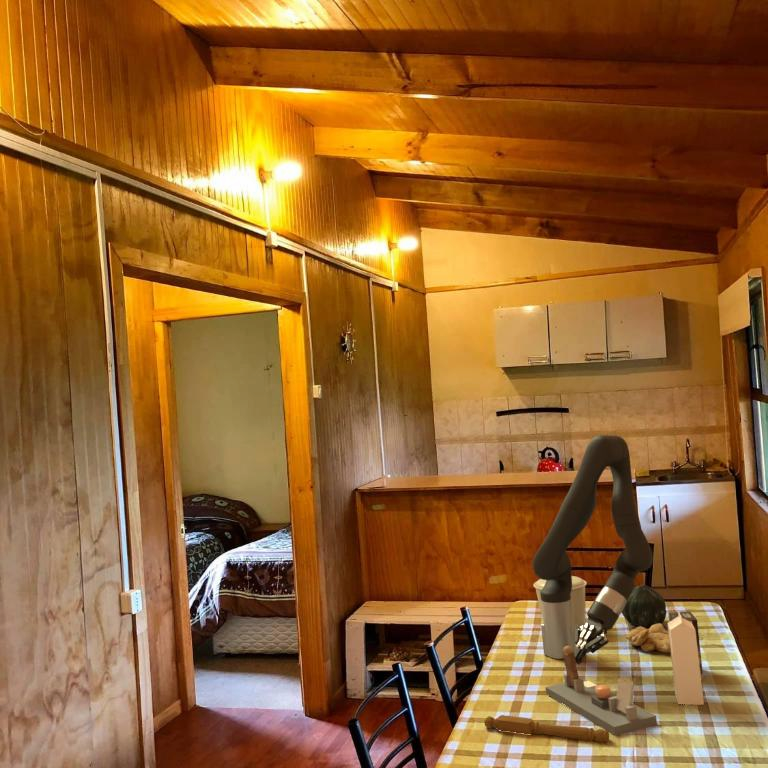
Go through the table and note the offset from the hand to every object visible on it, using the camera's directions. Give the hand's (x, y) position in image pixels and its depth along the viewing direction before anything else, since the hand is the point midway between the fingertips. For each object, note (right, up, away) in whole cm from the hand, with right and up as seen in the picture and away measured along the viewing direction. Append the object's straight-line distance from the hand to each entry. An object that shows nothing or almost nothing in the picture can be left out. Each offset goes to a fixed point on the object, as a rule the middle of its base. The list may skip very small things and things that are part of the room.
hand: (574, 662), depth 197 cm
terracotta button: (+4, -4, -12) cm, 14 cm away
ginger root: (+32, -8, +31) cm, 45 cm away
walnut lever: (0, -6, 0) cm, 6 cm away
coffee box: (+34, -6, +7) cm, 35 cm away
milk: (+27, -6, -10) cm, 29 cm away
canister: (+11, -11, +56) cm, 58 cm away
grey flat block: (+7, -5, -20) cm, 21 cm away
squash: (+39, -8, +55) cm, 67 cm away
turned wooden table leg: (-13, -10, -22) cm, 27 cm away
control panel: (+3, -8, -10) cm, 13 cm away
